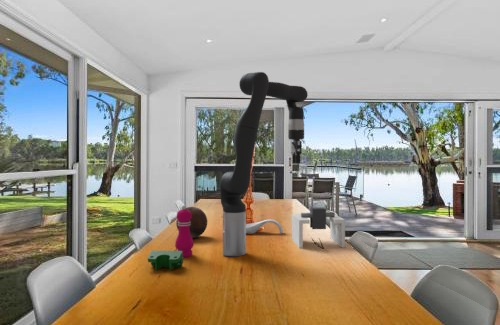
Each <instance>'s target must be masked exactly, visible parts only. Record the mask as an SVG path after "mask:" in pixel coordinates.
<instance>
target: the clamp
mask: <svg viewBox="0 0 500 325" xmlns="http://www.w3.org/2000/svg"><path fill="white" fill-rule="evenodd" d="M147 262H148V263H150V265H151V266H152V268H155V271H158V270H159V269H160V268H169V272H172V271H173V269H174V268H175V269H177V268H180V269H181V267H182V266H183V264H184V257H183V251H178V250H151V251H150V252H149V255H148V256H147Z"/></svg>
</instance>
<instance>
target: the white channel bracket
mask: <svg viewBox="0 0 500 325" xmlns="http://www.w3.org/2000/svg"><path fill="white" fill-rule="evenodd" d="M310 217H312V213H310V212H301V213H292V214H291V227H292V228H291V237H292V238H291V240H292V241H293V243H294V244H295V245H296V246H297V247H298V249H303V247H304V246H303V245H304V242H303V241H304V238H303V237H304V234H303V230H304V228H303V226H304V225H305V224H308V225H310ZM326 220H329V221H330V225H329V228H330V232H329V233H330V239H331V240H332V241H333V242H334V243H335V244H337V245H338V247H339V246H340V248H346V220H345V218H342V217H341V216H339V215H337V214H336V213H335V212H326Z"/></svg>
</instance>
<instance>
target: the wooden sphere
mask: <svg viewBox="0 0 500 325" xmlns="http://www.w3.org/2000/svg"><path fill="white" fill-rule="evenodd" d="M186 209H187V210H189V211H190V212H191V214H192V218H191V219H190V222H191V223H190V224H191V225H190V227H189V229H190V234H191V237H192V239H195V238H198V237H199V236H200V237H201V235H203V234H204V233H205V231H206V229H207V227H208V217H207V215H206V213H205V212H204V211H203V210H202V209H201V208H199V207H196V206H189V207H186ZM178 222H179V221H178V219H177V218H176V221H175V226H176V228H177V231H178V232H179V226H178Z"/></svg>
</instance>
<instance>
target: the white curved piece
mask: <svg viewBox="0 0 500 325" xmlns="http://www.w3.org/2000/svg"><path fill="white" fill-rule="evenodd" d="M267 223H272V224H274V225H276V226H277V227H278V230H279V235H283V232H284V231H283V230H284V229H283V226H282V224H281V223H280V222H278V221H277V220H275V219H271V218H269V219H265V220H261V221H258V222H252V223H246V235H247V234H248V235H249V234H256V232H258V231H259V229H261V228H262V227H263V226H264V225H266V224H267Z"/></svg>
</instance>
